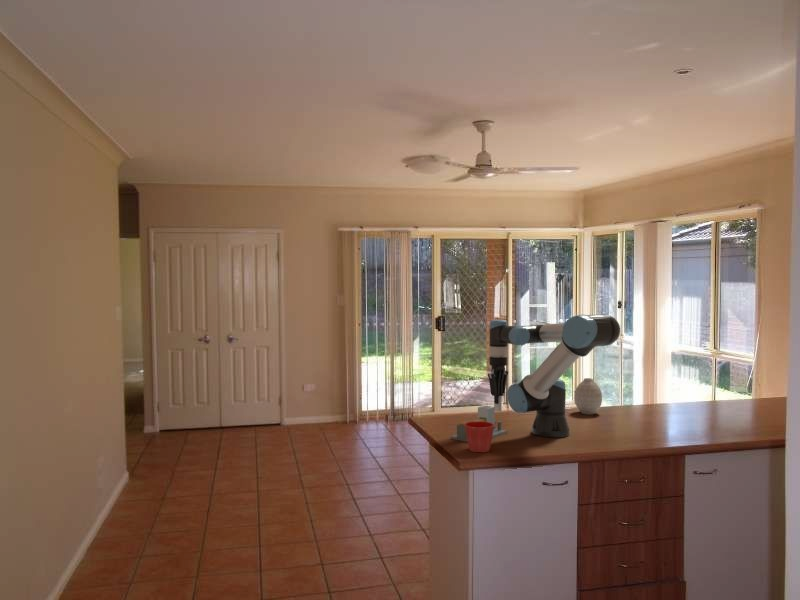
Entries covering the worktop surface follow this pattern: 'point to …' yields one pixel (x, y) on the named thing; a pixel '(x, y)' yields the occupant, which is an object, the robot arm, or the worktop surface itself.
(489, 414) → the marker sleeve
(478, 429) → the flower pot
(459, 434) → the cable comb
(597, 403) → the vase
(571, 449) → the worktop surface
